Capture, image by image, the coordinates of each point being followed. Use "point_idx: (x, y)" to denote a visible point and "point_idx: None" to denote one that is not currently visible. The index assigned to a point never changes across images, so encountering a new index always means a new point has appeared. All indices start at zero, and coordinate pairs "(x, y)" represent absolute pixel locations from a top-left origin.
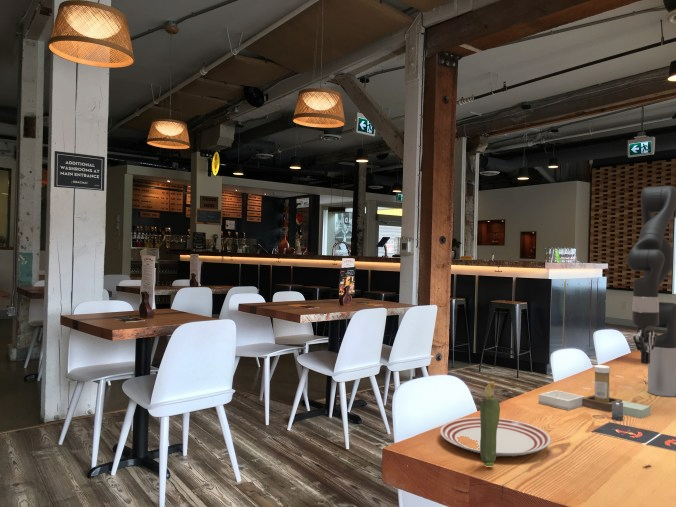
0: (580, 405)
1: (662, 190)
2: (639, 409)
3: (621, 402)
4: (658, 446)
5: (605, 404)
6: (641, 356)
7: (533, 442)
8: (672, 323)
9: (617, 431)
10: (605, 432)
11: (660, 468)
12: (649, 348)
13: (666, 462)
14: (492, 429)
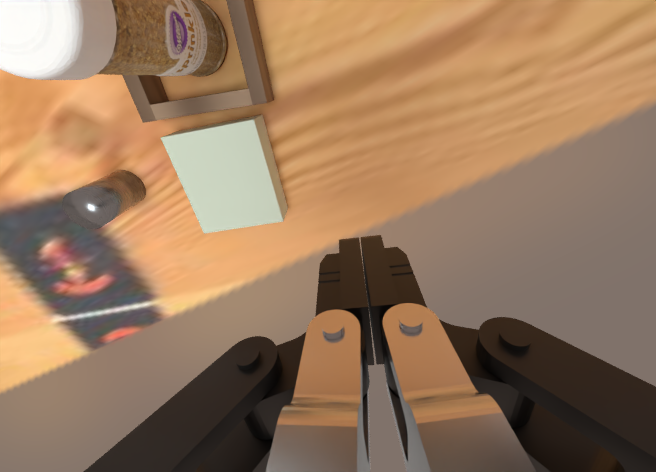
0: None
1: None
2: (204, 225)
3: (103, 217)
4: (78, 337)
5: (137, 103)
6: (318, 289)
7: None
8: None
9: (45, 252)
10: (2, 243)
11: (3, 377)
12: (394, 413)
13: (33, 372)
14: None
